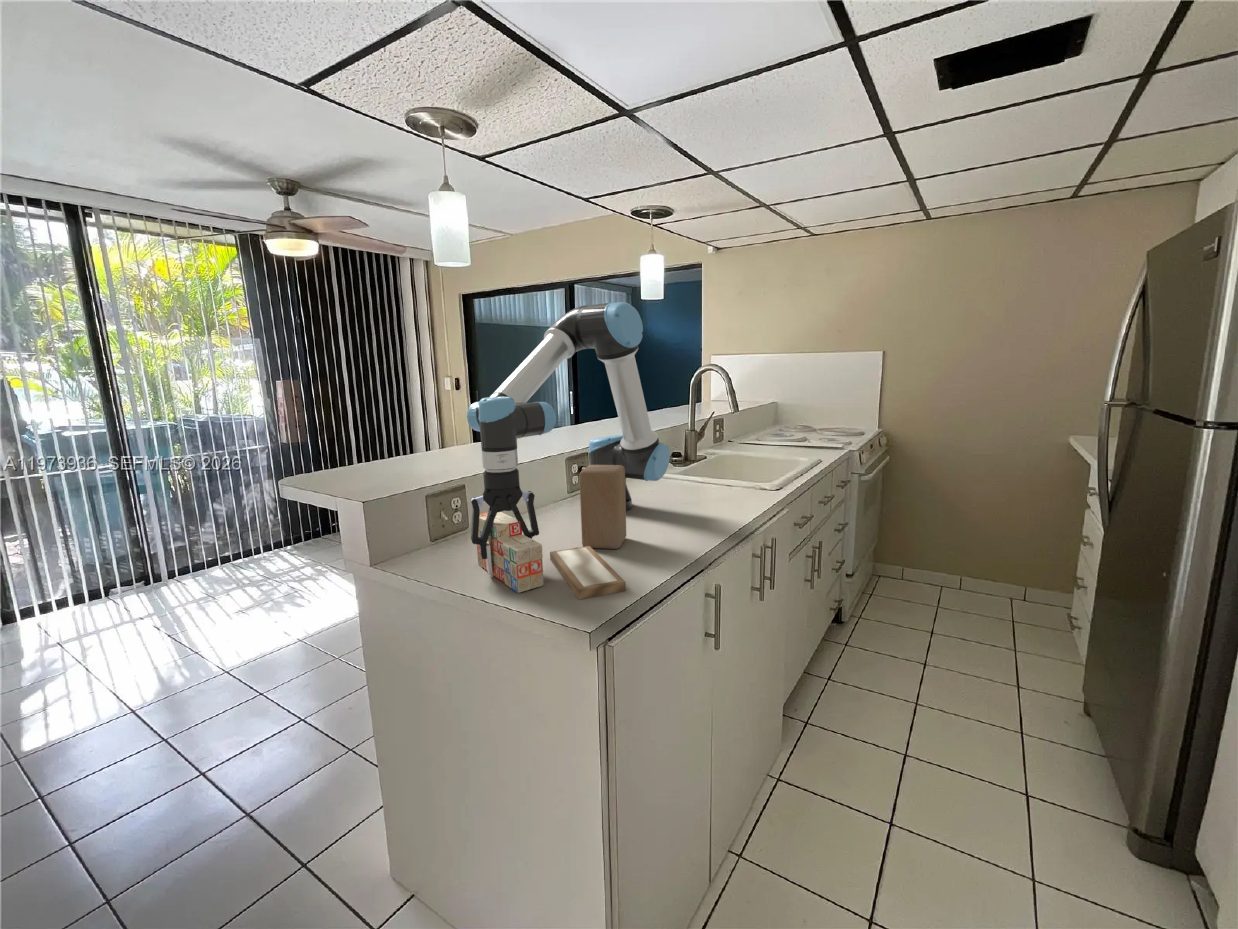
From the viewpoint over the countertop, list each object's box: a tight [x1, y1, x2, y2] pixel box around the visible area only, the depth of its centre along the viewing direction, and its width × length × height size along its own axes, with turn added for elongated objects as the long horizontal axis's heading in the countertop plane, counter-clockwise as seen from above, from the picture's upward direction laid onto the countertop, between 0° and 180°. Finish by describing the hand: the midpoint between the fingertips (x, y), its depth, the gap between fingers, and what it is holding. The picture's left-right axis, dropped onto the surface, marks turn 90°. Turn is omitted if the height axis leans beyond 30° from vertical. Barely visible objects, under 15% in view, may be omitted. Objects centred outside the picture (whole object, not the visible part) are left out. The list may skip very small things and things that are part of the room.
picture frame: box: [549, 546, 627, 600], centre depth 120 cm, size 10×24×2 cm, turn 21°
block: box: [578, 465, 627, 550], centre depth 138 cm, size 10×10×20 cm
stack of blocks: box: [476, 511, 544, 594], centre depth 119 cm, size 21×6×12 cm, turn 37°
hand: (507, 568), depth 120 cm, fingers closed on stack of blocks, 7 cm apart
